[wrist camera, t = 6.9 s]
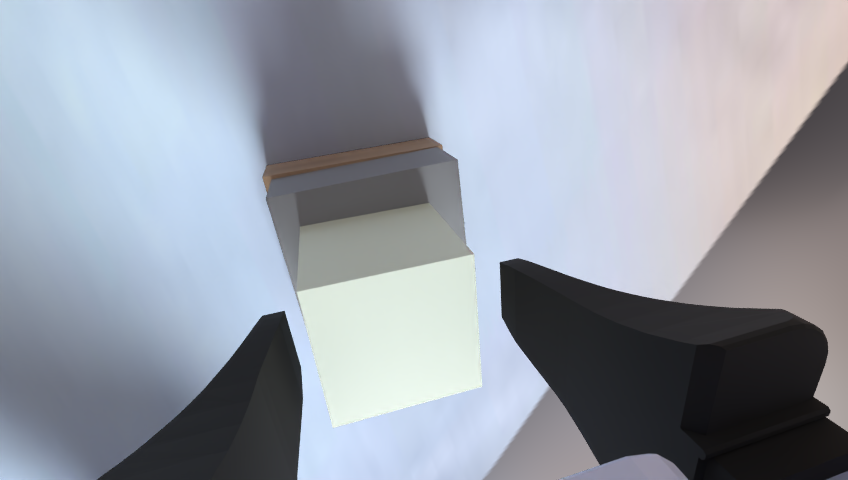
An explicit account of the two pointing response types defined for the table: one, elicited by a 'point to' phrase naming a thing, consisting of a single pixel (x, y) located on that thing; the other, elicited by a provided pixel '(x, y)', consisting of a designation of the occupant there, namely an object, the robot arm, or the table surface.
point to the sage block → (389, 311)
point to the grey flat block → (364, 195)
